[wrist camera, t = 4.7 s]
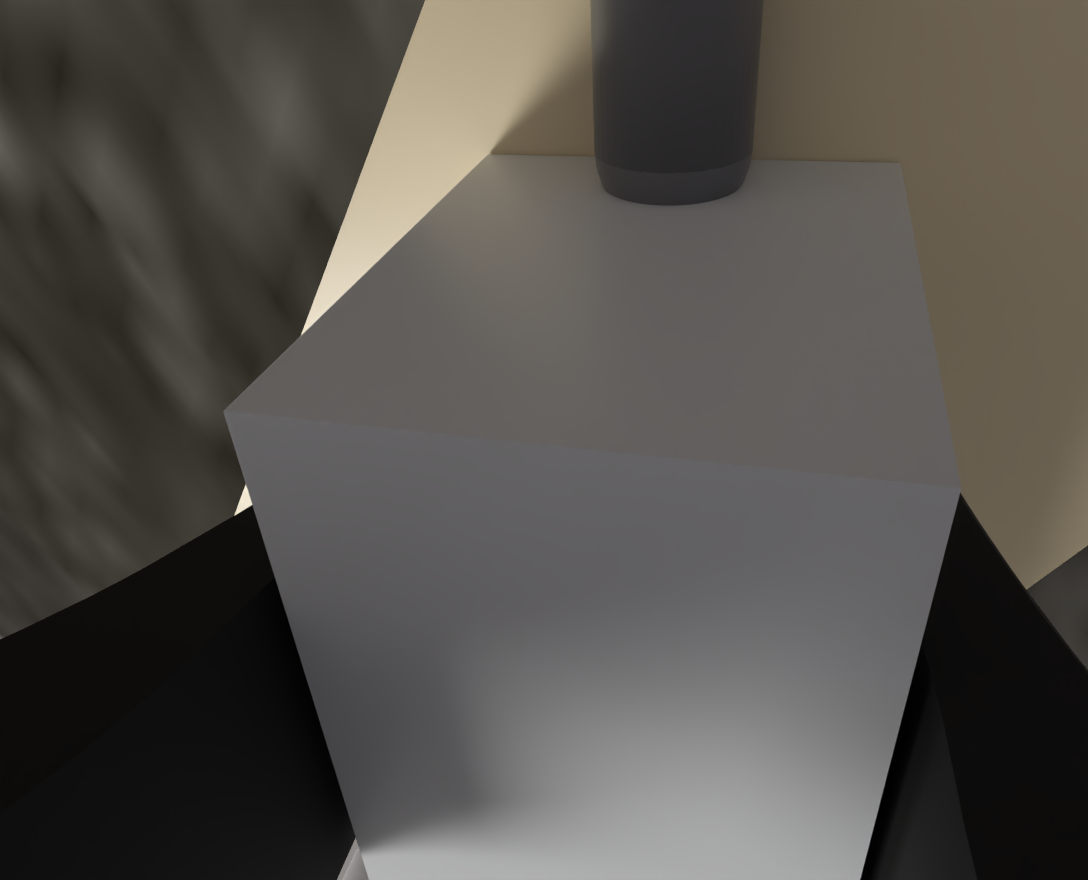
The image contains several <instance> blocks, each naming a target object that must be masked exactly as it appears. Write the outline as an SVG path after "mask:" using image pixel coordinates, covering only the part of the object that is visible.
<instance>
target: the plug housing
mask: <svg viewBox="0 0 1088 880" xmlns="http://www.w3.org/2000/svg"><path fill="white" fill-rule="evenodd" d="M763 2H764V0H590V6H591V43H592V81H593V118H594V153H595V156H548V155H500V154H488V155H487V156H486V157H485V158H484V159H483V160H482V161H481V162H480V163H479V164H478V165H477V166H476V167H474V168H473V169H472V170H471V171H470V172H469V173H468V174H467V175H466V176H465V177H464V178H463V179H462V180H461V181H460V182H459V183H458V184H457V185H456V186H455V187H454V188H453V189H452V190H451V191H450V192H449V193H448V194H447V195H446V196H445V197H444V198H443V199H441V200H440V201H439V202H438V203H437V204H436V205H435V206H434V207H433V208H432V209H431V210H430V211H429V212H428V213H427V214H426V215H425V216H424V217H423V218H422V219H421V220H420V221H419V222H418V223H417V224H416V225H415V226H414V227H413V228H412V229H411V230H410V231H408V232H407V233H406V234H405V235H404V236H403V237H402V238H401V239H400V240H399V241H398V242H397V243H396V244H395V245H394V246H393V247H392V248H391V249H390V250H389V251H388V252H387V253H386V254H385V255H384V256H383V257H382V258H381V259H380V260H379V261H378V262H377V263H375V264H374V265H373V266H372V267H371V268H370V269H369V270H368V271H367V272H366V273H365V274H364V275H363V276H362V277H361V278H360V279H359V280H358V281H357V282H356V283H355V284H354V285H353V286H352V287H351V288H350V289H349V290H348V291H347V292H346V293H345V294H344V295H343V296H341V297H340V298H339V299H338V300H337V301H336V302H335V303H334V304H333V305H332V306H331V307H330V308H329V309H328V310H327V311H326V312H325V313H324V314H323V315H322V316H321V317H320V318H319V319H318V320H317V321H316V322H315V323H314V324H313V325H312V326H311V327H310V328H308V329H307V330H306V331H305V332H304V333H303V334H302V335H301V336H300V337H299V338H298V339H297V340H296V341H295V342H294V343H293V344H292V345H291V346H290V347H289V348H288V349H287V350H286V351H285V352H284V353H283V354H282V355H281V356H280V357H279V358H278V359H277V360H275V361H274V362H273V363H272V364H271V365H270V366H269V367H268V368H267V369H266V370H265V371H264V372H263V373H262V374H261V375H260V376H259V377H258V378H257V379H256V380H255V381H254V382H253V383H252V384H251V385H250V386H249V387H248V388H247V389H246V390H245V391H244V392H243V393H241V394H240V395H239V396H238V397H237V398H236V399H235V400H234V401H233V402H232V403H231V404H230V405H229V406H228V407H227V408H226V409H225V410H224V411H223V412H224V415H225V418H226V421H227V425H228V428H229V431H230V434H231V438H232V441H233V444H234V447H235V450H236V454H237V457H238V460H239V463H240V466H241V470H242V473H243V476H244V479H245V483H246V486H247V489H248V492H249V495H250V499H251V502H252V505H253V508H254V512H255V515H256V518H257V521H258V524H259V528H260V531H261V534H262V537H263V540H264V544H265V547H266V550H267V553H268V557H269V560H270V563H271V566H272V569H273V573H274V576H275V579H276V582H277V585H278V589H279V592H280V595H281V598H282V602H283V605H284V608H285V611H286V614H287V618H288V621H289V624H290V627H291V631H292V634H293V637H294V640H295V643H296V647H297V650H298V653H299V656H300V659H301V663H302V666H303V669H304V672H305V676H306V679H307V682H308V685H309V688H310V692H311V695H312V698H313V701H314V705H315V708H316V711H317V714H318V717H319V721H320V724H321V727H322V730H323V733H324V737H325V740H326V743H327V746H328V750H329V753H330V756H331V759H332V762H333V766H334V769H335V772H336V775H337V778H338V782H339V785H340V788H341V791H342V795H343V798H344V801H345V804H346V807H347V811H348V814H349V817H350V820H351V824H352V827H353V830H354V833H355V836H356V840H357V843H358V846H359V849H360V852H361V856H362V859H363V862H364V865H365V869H366V872H367V875H368V878H369V880H860V879H861V875H862V871H863V867H864V863H865V859H866V855H867V851H868V848H869V844H870V840H871V836H872V832H873V828H874V824H875V820H876V817H877V813H878V809H879V805H880V801H881V797H882V793H883V789H884V786H885V782H886V778H887V774H888V770H889V766H890V762H891V758H892V755H893V751H894V747H895V743H896V739H897V735H898V731H899V728H900V724H901V720H902V716H903V712H904V708H905V704H906V700H907V697H908V693H909V689H910V685H911V681H912V677H913V673H914V669H915V666H916V662H917V658H918V654H919V650H920V646H921V642H922V638H923V635H924V631H925V627H926V623H927V619H928V615H929V611H930V607H931V604H932V600H933V596H934V592H935V588H936V584H937V580H938V577H939V573H940V569H941V565H942V561H943V557H944V553H945V549H946V546H947V542H948V538H949V534H950V530H951V526H952V522H953V518H954V515H955V511H956V507H957V503H958V499H959V495H960V491H961V484H960V479H959V473H958V468H957V463H956V457H955V452H954V447H953V441H952V436H951V430H950V425H949V420H948V414H947V409H946V404H945V398H944V393H943V388H942V382H941V377H940V371H939V366H938V361H937V355H936V350H935V345H934V339H933V334H932V329H931V323H930V318H929V312H928V307H927V302H926V296H925V291H924V286H923V280H922V275H921V270H920V264H919V259H918V253H917V248H916V243H915V237H914V232H913V227H912V221H911V216H910V211H909V205H908V200H907V194H906V189H905V184H904V178H903V173H902V168H901V163H888V162H839V161H791V160H751V157H752V152H753V140H754V126H755V113H756V99H757V85H758V71H759V58H760V44H761V30H762V16H763Z"/></svg>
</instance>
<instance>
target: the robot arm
mask: <svg viewBox="0 0 1088 880" xmlns="http://www.w3.org/2000/svg"><path fill="white" fill-rule="evenodd" d="M355 837H356V836H355V833H354V830H353V827H352V824H351V820H350V817H349V814H348V811H347V807H346V804H345V801H344V798H343V795H342V791H341V788H340V785H339V782H338V778H337V775H336V772H335V769H334V766H333V762H332V759H331V756H330V753H329V750H328V746H327V743H326V740H325V737H324V733H323V730H322V727H321V724H320V721H319V717H318V714H317V711H316V708H315V705H314V701H313V698H312V695H311V692H310V688H309V685H308V682H307V679H306V676H305V672H304V669H303V666H302V663H301V659H300V656H299V653H298V650H297V647H296V643H295V640H294V637H293V634H292V631H291V627H290V624H289V621H288V618H287V614H286V611H285V608H284V605H283V602H282V598H281V595H280V592H279V589H278V585H277V582H276V579H275V576H274V573H273V569H272V566H271V563H270V560H269V557H268V553H267V550H266V547H265V544H264V540H263V537H262V534H261V531H260V528H259V524H258V521H257V518H256V515H255V512H254V508H253V505H251V506H249V507H248V508H246V509H245V510H243V511H241V512H240V513H238V514H236V515H235V516H233V517H231V518H230V519H228V520H226V521H224V522H223V523H221V524H219V525H218V526H216V527H214V528H212V529H211V530H209V531H207V532H205V533H204V534H202V535H200V536H199V537H197V538H195V539H193V540H192V541H190V542H188V543H187V544H185V545H183V546H181V547H180V548H178V549H176V550H174V551H173V552H171V553H169V554H168V555H166V556H164V557H162V558H161V559H159V560H157V561H156V562H154V563H152V564H150V565H149V566H147V567H145V568H143V569H142V570H140V571H138V572H136V573H134V574H132V575H130V576H129V577H127V578H125V579H123V580H121V581H119V582H117V583H115V584H113V585H112V586H110V587H108V588H106V589H104V590H102V591H100V592H98V593H96V594H94V595H92V596H90V597H88V598H86V599H84V600H82V601H80V602H78V603H76V604H74V605H72V606H70V607H68V608H66V609H64V610H62V611H59V612H57V613H55V614H53V615H51V616H49V617H47V618H45V619H43V620H41V621H39V622H37V623H35V624H33V625H30V626H28V627H26V628H24V629H22V630H20V631H18V632H16V633H13V634H11V635H9V636H7V637H5V638H2V639H0V880H337V878H338V876H339V873H340V871H341V869H342V867H343V864H344V862H345V860H346V858H347V855H348V853H349V851H350V849H351V846H352V844H353V842H354V840H355ZM860 880H1088V670H1087V669H1086V667H1085V666H1084V665H1083V664H1082V662H1081V661H1080V660H1079V659H1078V657H1077V656H1076V655H1075V654H1074V652H1073V651H1072V650H1071V649H1070V647H1069V646H1068V645H1067V643H1066V642H1065V641H1064V639H1063V638H1062V637H1061V635H1060V634H1059V633H1058V631H1057V630H1056V629H1055V627H1054V626H1053V625H1052V623H1051V622H1050V621H1049V619H1048V618H1047V617H1046V615H1045V614H1044V613H1043V611H1042V610H1041V609H1040V607H1039V606H1038V605H1037V604H1036V602H1035V601H1034V600H1033V598H1032V597H1031V596H1030V594H1029V593H1028V592H1027V590H1026V589H1025V587H1024V586H1023V585H1022V583H1021V582H1020V580H1019V579H1018V578H1017V576H1016V575H1015V573H1014V572H1013V571H1012V569H1011V568H1010V566H1009V565H1008V563H1007V562H1006V560H1005V559H1004V558H1003V556H1002V555H1001V553H1000V552H999V550H998V549H997V547H996V546H995V544H994V543H993V541H992V540H991V539H990V537H989V536H988V534H987V533H986V531H985V530H984V528H983V527H982V525H981V524H980V522H979V520H978V519H977V517H976V516H975V514H974V513H973V511H972V510H971V508H970V507H969V505H968V504H967V502H966V500H965V499H964V497H963V496H962V494H961V492H960V495H959V499H958V503H957V507H956V511H955V515H954V518H953V522H952V526H951V530H950V534H949V538H948V542H947V546H946V549H945V553H944V557H943V561H942V565H941V569H940V573H939V577H938V580H937V584H936V588H935V592H934V596H933V600H932V604H931V607H930V611H929V615H928V619H927V623H926V627H925V631H924V635H923V638H922V642H921V646H920V650H919V654H918V658H917V662H916V666H915V669H914V673H913V677H912V681H911V685H910V689H909V693H908V697H907V700H906V704H905V708H904V712H903V716H902V720H901V724H900V728H899V731H898V735H897V739H896V743H895V747H894V751H893V755H892V758H891V762H890V766H889V770H888V774H887V778H886V782H885V786H884V789H883V793H882V797H881V801H880V805H879V809H878V813H877V817H876V820H875V824H874V828H873V832H872V836H871V840H870V844H869V848H868V851H867V855H866V859H865V863H864V867H863V871H862V875H861V879H860Z"/></svg>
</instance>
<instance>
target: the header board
mask: <svg viewBox="0 0 1088 880" xmlns="http://www.w3.org/2000/svg"><path fill="white" fill-rule="evenodd" d="M488 154H500V155H548V156H595V153H594V118H593V81H592V43H591V6H590V0H425V3H424V5H423V8H422V11H421V13H420V16H419V19H418V21H417V24H416V27H415V30H414V32H413V35H412V38H411V40H410V43H409V46H408V48H407V51H406V54H405V56H404V59H403V62H402V65H401V67H400V70H399V73H398V75H397V78H396V81H395V83H394V86H393V89H392V92H391V94H390V97H389V100H388V102H387V105H386V108H385V110H384V113H383V116H382V119H381V121H380V124H379V127H378V129H377V132H376V135H375V137H374V140H373V143H372V146H371V148H370V151H369V154H368V156H367V159H366V162H365V164H364V167H363V170H362V172H361V175H360V178H359V181H358V183H357V186H356V189H355V191H354V194H353V197H352V199H351V202H350V205H349V208H348V210H347V213H346V216H345V218H344V221H343V224H342V226H341V229H340V232H339V235H338V237H337V240H336V243H335V245H334V248H333V251H332V253H331V256H330V259H329V262H328V264H327V267H326V270H325V272H324V275H323V278H322V280H321V283H320V286H319V288H318V291H317V294H316V297H315V299H314V302H313V305H312V307H311V310H310V313H309V315H308V318H307V321H306V324H305V326H304V329H303V332H302V334H303V333H304V332H305V331H306V330H307V329H308V328H310V327H311V326H312V325H313V324H314V323H315V322H316V321H317V320H318V319H319V318H320V317H321V316H322V315H323V314H324V313H325V312H326V311H327V310H328V309H329V308H330V307H331V306H332V305H333V304H334V303H335V302H336V301H337V300H338V299H339V298H340V297H341V296H343V295H344V294H345V293H346V292H347V291H348V290H349V289H350V288H351V287H352V286H353V285H354V284H355V283H356V282H357V281H358V280H359V279H360V278H361V277H362V276H363V275H364V274H365V273H366V272H367V271H368V270H369V269H370V268H371V267H372V266H373V265H374V264H375V263H377V262H378V261H379V260H380V259H381V258H382V257H383V256H384V255H385V254H386V253H387V252H388V251H389V250H390V249H391V248H392V247H393V246H394V245H395V244H396V243H397V242H398V241H399V240H400V239H401V238H402V237H403V236H404V235H405V234H406V233H407V232H408V231H410V230H411V229H412V228H413V227H414V226H415V225H416V224H417V223H418V222H419V221H420V220H421V219H422V218H423V217H424V216H425V215H426V214H427V213H428V212H429V211H430V210H431V209H432V208H433V207H434V206H435V205H436V204H437V203H438V202H439V201H440V200H441V199H443V198H444V197H445V196H446V195H447V194H448V193H449V192H450V191H451V190H452V189H453V188H454V187H455V186H456V185H457V184H458V183H459V182H460V181H461V180H462V179H463V178H464V177H465V176H466V175H467V174H468V173H469V172H470V171H471V170H472V169H473V168H474V167H476V166H477V165H478V164H479V163H480V162H481V161H482V160H483V159H484V158H485V157H486V156H487V155H488ZM751 160H791V161H839V162H888V163H901V168H902V173H903V178H904V184H905V189H906V194H907V200H908V205H909V211H910V216H911V221H912V227H913V232H914V237H915V243H916V248H917V253H918V259H919V264H920V270H921V275H922V280H923V286H924V291H925V296H926V302H927V307H928V312H929V318H930V323H931V329H932V334H933V339H934V345H935V350H936V355H937V361H938V366H939V371H940V377H941V382H942V388H943V393H944V398H945V404H946V409H947V414H948V420H949V425H950V430H951V436H952V441H953V447H954V452H955V457H956V463H957V468H958V473H959V479H960V484H961V491H960V492H961V494H962V496H963V497H964V499H965V500H966V502H967V504H968V505H969V507H970V508H971V510H972V511H973V513H974V514H975V516H976V517H977V519H978V520H979V522H980V524H981V525H982V527H983V528H984V530H985V531H986V533H987V534H988V536H989V537H990V539H991V540H992V541H993V543H994V544H995V546H996V547H997V549H998V550H999V552H1000V553H1001V555H1002V556H1003V558H1004V559H1005V560H1006V562H1007V563H1008V565H1009V566H1010V568H1011V569H1012V571H1013V572H1014V573H1015V575H1016V576H1017V578H1018V579H1019V580H1020V582H1021V583H1022V585H1023V586H1024V587H1025V589H1026V590H1027V589H1028V588H1029V587H1031V586H1032V585H1033V584H1035V583H1036V582H1038V581H1039V580H1040V579H1042V578H1043V577H1045V576H1046V575H1047V574H1049V573H1050V572H1051V571H1053V570H1054V569H1056V568H1057V567H1058V566H1060V565H1061V564H1062V563H1064V562H1065V561H1067V560H1068V559H1069V558H1071V557H1072V556H1074V555H1075V554H1076V553H1078V552H1079V551H1080V550H1082V549H1083V548H1085V547H1086V546H1087V545H1088V0H764V2H763V16H762V30H761V44H760V58H759V71H758V85H757V99H756V113H755V126H754V140H753V152H752V157H751ZM302 334H301V335H302ZM251 505H252V502H251V499H250V495H249V492H248V489H247V486H246V485H245V488H244V491H243V493H242V496H241V499H240V502H239V504H238V507H237V510H236V512H235V515H236V514H238V513H240V512H241V511H243V510H245V509H246V508H248V507H249V506H251ZM235 515H234V516H235ZM343 880H369V878H368V875H367V872H366V869H365V865H364V862H363V859H362V856H361V852H360V849H359V846H358V848H357V850H356V852H355V854H354V856H353V858H352V860H351V862H350V864H349V867H348V869H347V871H346V873H345V875H344V877H343Z"/></svg>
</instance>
